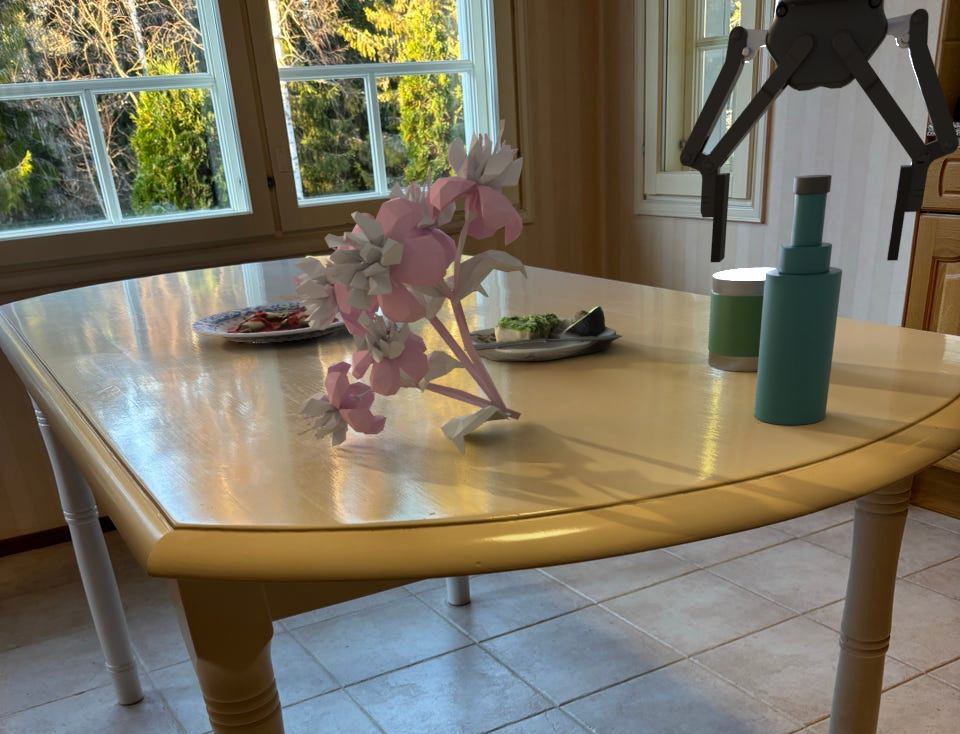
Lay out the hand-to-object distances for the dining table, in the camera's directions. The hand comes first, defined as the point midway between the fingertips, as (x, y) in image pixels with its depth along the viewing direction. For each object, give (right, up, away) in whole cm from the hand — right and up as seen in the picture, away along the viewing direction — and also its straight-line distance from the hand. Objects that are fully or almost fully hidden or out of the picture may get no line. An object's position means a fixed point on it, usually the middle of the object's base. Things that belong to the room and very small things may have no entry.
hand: (802, 259), depth 76 cm
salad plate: (-18, +5, +38) cm, 42 cm away
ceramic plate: (-55, +13, +59) cm, 81 cm away
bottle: (+1, -11, +6) cm, 13 cm away
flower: (-33, -14, +7) cm, 37 cm away
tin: (+3, -1, +24) cm, 25 cm away
